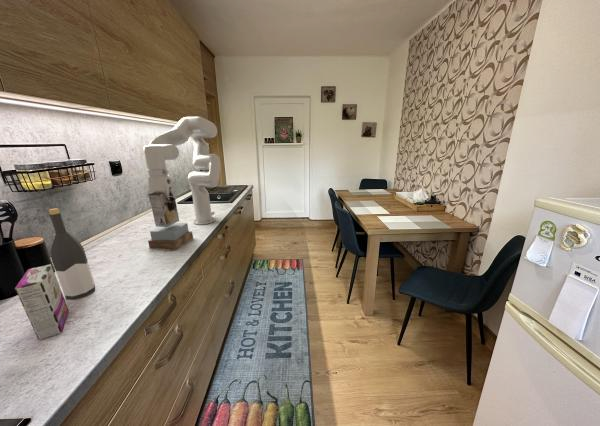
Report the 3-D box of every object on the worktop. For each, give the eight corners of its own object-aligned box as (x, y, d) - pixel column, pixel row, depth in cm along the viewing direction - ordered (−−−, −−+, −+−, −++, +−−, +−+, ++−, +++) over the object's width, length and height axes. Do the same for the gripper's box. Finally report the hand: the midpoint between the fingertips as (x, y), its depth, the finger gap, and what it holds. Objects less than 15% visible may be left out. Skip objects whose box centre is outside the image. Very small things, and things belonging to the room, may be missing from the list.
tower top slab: (166, 231, 127) (164, 222, 126) (188, 231, 126) (187, 223, 125) (151, 240, 116) (149, 231, 114) (176, 240, 115) (174, 231, 114)
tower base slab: (169, 238, 130) (168, 230, 128) (193, 239, 127) (192, 231, 126) (149, 249, 117) (148, 240, 115) (175, 251, 114) (174, 242, 113)
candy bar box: (47, 317, 71) (27, 268, 67) (69, 310, 74) (52, 263, 69) (36, 342, 63) (13, 287, 58) (62, 333, 65) (42, 280, 61)
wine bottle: (90, 283, 88) (65, 204, 79) (100, 290, 84) (75, 207, 75) (61, 295, 81) (30, 210, 73) (70, 303, 77) (39, 214, 69)
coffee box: (168, 220, 124) (162, 189, 119) (179, 221, 122) (174, 189, 118) (155, 226, 115) (148, 193, 110) (166, 227, 114) (160, 194, 109)
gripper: (179, 171, 113) (186, 208, 119) (148, 171, 116) (155, 207, 122) (168, 174, 106) (175, 213, 112) (135, 173, 109) (143, 211, 115)
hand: (165, 209), depth 117 cm, fingers closed on coffee box, 6 cm apart
